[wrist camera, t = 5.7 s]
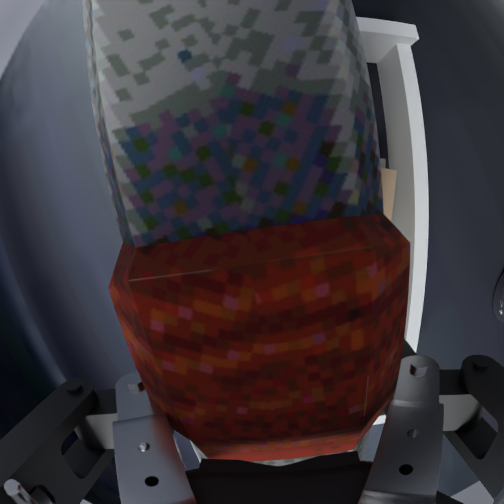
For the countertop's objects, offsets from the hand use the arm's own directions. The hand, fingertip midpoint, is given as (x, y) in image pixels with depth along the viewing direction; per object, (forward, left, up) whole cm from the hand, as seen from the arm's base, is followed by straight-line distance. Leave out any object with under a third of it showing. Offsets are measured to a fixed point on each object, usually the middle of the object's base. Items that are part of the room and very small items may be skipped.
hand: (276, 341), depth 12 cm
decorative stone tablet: (0, 0, -13) cm, 13 cm away
